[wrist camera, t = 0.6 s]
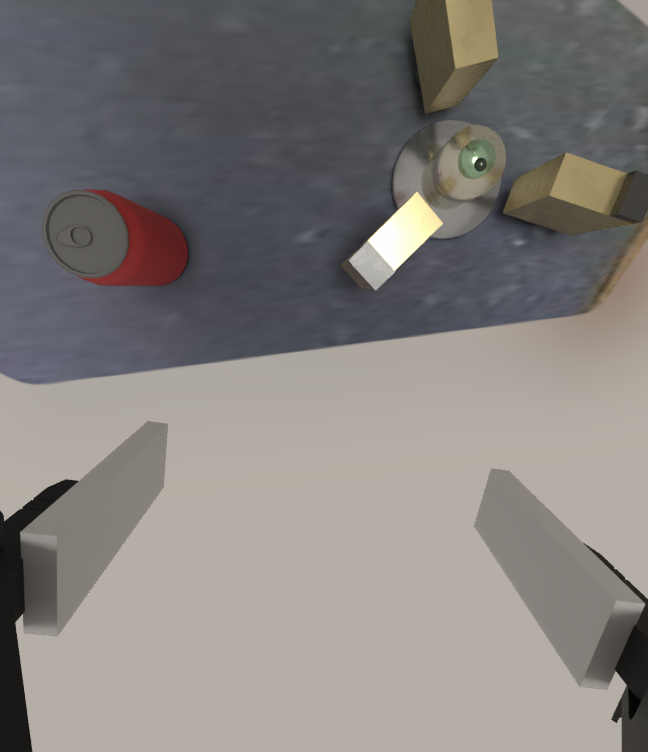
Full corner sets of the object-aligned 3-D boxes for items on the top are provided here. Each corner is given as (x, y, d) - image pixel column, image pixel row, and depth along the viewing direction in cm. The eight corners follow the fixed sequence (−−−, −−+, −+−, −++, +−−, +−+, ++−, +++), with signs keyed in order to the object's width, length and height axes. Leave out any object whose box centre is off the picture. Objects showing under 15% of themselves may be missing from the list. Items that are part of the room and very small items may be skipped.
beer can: (113, 218, 36) (19, 186, 24) (183, 210, 36) (122, 175, 24) (129, 289, 38) (48, 291, 26) (196, 281, 38) (145, 280, 26)
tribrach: (419, 62, 34) (453, -6, 26) (575, 118, 35) (652, 70, 27) (361, 260, 38) (375, 253, 30) (504, 303, 39) (554, 307, 31)
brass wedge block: (395, 210, 34) (420, 188, 27) (417, 235, 35) (447, 221, 27) (340, 265, 35) (348, 260, 28) (361, 289, 36) (375, 290, 28)
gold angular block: (459, 104, 33) (504, 50, 25) (425, 114, 33) (459, 62, 25) (445, 9, 31) (489, -80, 23) (409, 19, 31) (441, -66, 24)
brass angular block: (502, 213, 35) (556, 192, 27) (515, 178, 34) (573, 148, 27) (571, 235, 36) (641, 222, 28) (584, 202, 35) (660, 179, 27)
